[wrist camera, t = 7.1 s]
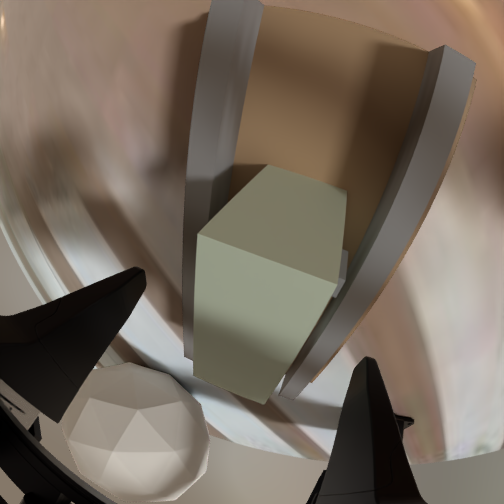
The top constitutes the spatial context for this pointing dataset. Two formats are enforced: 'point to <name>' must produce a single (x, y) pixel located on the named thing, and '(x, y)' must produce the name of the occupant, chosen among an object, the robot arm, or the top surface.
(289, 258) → the sage green box
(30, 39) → the top surface
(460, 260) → the top surface
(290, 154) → the track board
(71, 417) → the ball
